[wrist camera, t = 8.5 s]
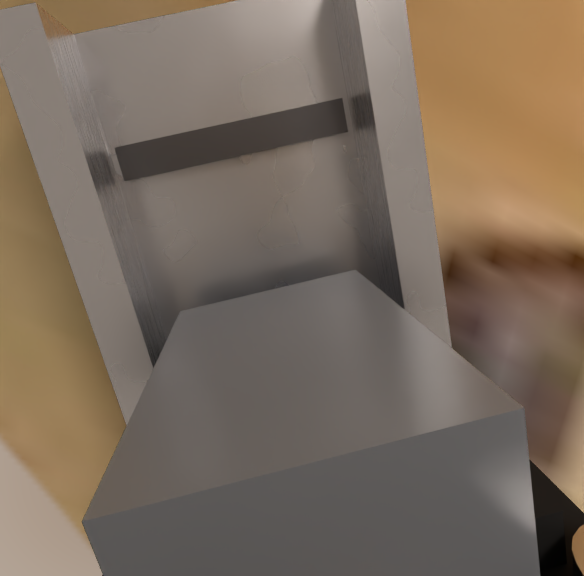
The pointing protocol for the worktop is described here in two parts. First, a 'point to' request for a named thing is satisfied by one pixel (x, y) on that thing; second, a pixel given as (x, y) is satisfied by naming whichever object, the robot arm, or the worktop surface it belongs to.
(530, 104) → the worktop surface
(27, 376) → the worktop surface
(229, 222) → the rail
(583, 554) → the robot arm
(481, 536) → the block
